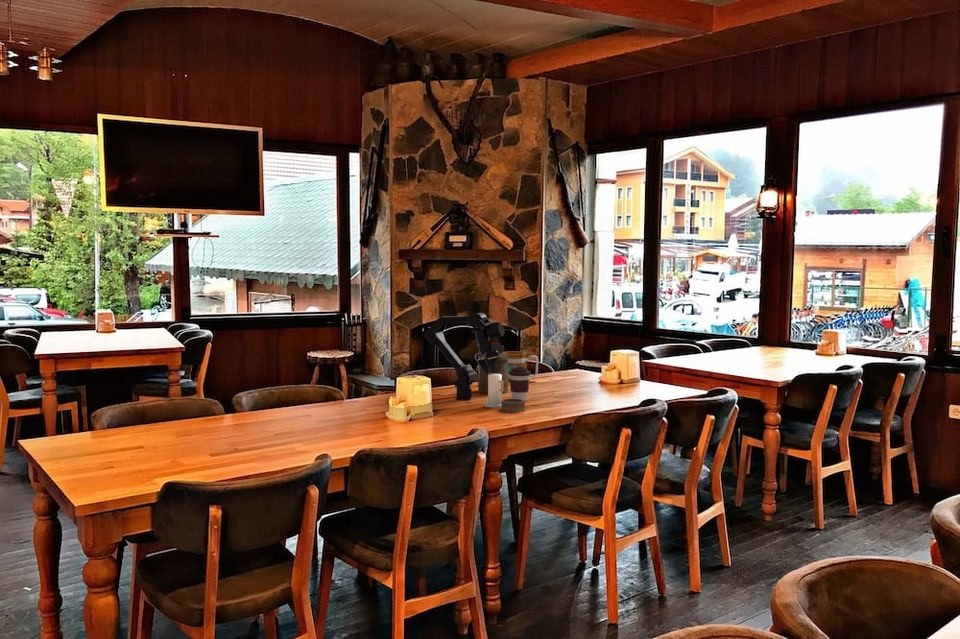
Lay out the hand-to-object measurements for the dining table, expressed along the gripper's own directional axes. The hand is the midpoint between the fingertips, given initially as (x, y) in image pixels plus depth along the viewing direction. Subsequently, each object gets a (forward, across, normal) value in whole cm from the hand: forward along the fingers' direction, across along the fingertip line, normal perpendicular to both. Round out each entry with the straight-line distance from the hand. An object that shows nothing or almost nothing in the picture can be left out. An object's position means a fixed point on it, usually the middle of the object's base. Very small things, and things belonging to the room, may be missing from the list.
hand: (490, 373), depth 348 cm
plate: (+14, -8, +3) cm, 16 cm away
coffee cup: (+15, +2, -12) cm, 19 cm away
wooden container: (+10, +26, -8) cm, 30 cm away
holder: (+16, -18, -1) cm, 25 cm away
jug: (+13, -8, +3) cm, 16 cm away
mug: (+10, +52, -32) cm, 61 cm away
